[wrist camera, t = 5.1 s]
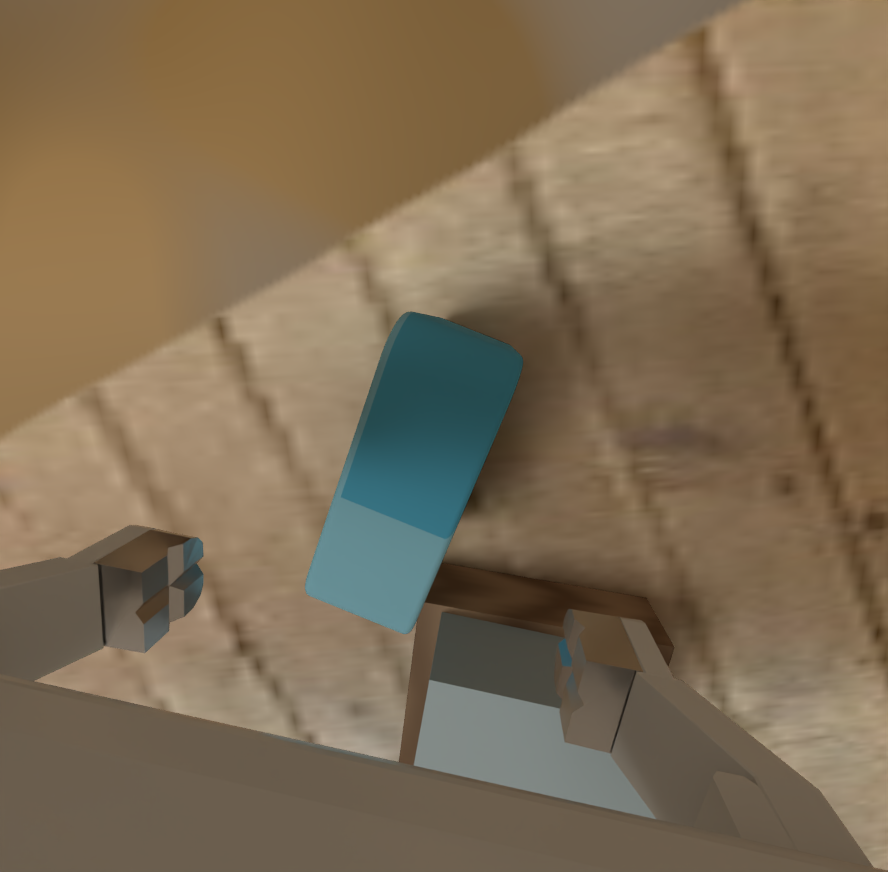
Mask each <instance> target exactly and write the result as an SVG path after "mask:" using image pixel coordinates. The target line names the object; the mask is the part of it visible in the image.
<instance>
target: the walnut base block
mask: <svg viewBox="0 0 888 872" xmlns="http://www.w3.org/2000/svg"><path fill="white" fill-rule="evenodd" d="M568 609H573V610H579V611H585V612H591V613H597V614H603V615H609V616H615V617H623V618H630V619H636V620H642V621H643V622H644V623H645V624H646V625H647V627H648V629H649V631H650V633H651V635H652V637H653V639H654V641H655V643H656V645H657V647H658V649H659V650H660V652H661V654H662V656H663V658H664V660H665V662H666V664H667V666H669V663H670V660H671V656H672V653H673V650H674V646H673V644H672V642H671V641H670V639H669V637H668V635H667V633H666V632H665V630H664V628H663V626H662V625H661V623H660V621H659V619H658V618H657V616H656V614H655V612H654V611H653V609H652V607H651V605H650V604H649V602H648V600H647V598H643V597H637V596H632V595H626V594H620V593H614V592H608V591H602V590H597V589H591V588H585V587H579V586H573V585H568V584H562V583H556V582H550V581H544V580H538V579H533V578H527V577H521V576H515V575H509V574H504V573H498V572H492V571H486V570H480V569H475V568H469V567H463V566H457V565H451V564H445V563H441V565H440V567H439V570H438V572H437V574H436V577H435V579H434V582H433V584H432V586H431V589H430V591H429V593H428V596H427V598H426V600H425V603H424V605H423V607H422V610H421V612H420V614H419V617H418V619H417V625H416V633H415V641H414V649H413V656H412V664H411V672H410V680H409V688H408V695H407V703H406V711H405V719H404V726H403V734H402V742H401V750H400V758H399V762H400V763H405V764H409V765H414V760H415V755H416V750H417V744H418V739H419V733H420V728H421V722H422V717H423V711H424V706H425V701H426V695H427V690H428V684H429V679H430V673H431V668H432V662H433V657H434V652H435V646H436V641H437V635H438V630H439V624H440V619H441V613H442V612H445V613H450V614H455V615H459V616H464V617H469V618H474V619H478V620H483V621H488V622H493V623H497V624H502V625H507V626H512V627H516V628H521V629H526V630H531V631H535V632H540V633H545V634H550V635H554V636H559V637H564V638H565V634H564V630H563V622H564V618H565V615H566V612H567V610H568Z"/></svg>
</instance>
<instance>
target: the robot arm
mask: <svg viewBox="0 0 888 872" xmlns="http://www.w3.org/2000/svg"><path fill="white" fill-rule="evenodd" d="M202 557H203V543H202V541H201V540H200V539H199V538H197V537H193V536H188V535H183V534H179V533H174V532H169V531H164V530H160V529H155V528H150V527H145V526H139V525H129V526H127V527H125V528H123V529H122V530H120V531H118V532H116V533H114V534H112V535H110V536H108V537H107V538H105V539H103V540H101V541H99V542H97V543H95V544H93V545H92V546H90V547H88V548H86V549H84V550H82V551H80V552H78V553H77V554H75V555H73V556H71V557H69V558H61V557H59V558H54V559H50V560H45V561H41V562H36V563H31V564H27V565H22V566H17V567H13V568H8V569H4V570H0V872H888V871H887V870H883V869H878V868H874V867H873V866H872V864H871V863H870V861H869V860H868V859H867V857H866V856H865V854H864V853H863V851H862V850H861V849H860V847H859V846H858V844H857V843H856V841H855V840H854V839H853V837H852V836H851V834H850V833H849V831H848V830H847V829H846V827H845V826H844V824H843V823H842V821H841V820H840V819H839V817H838V816H837V814H836V813H835V811H834V810H833V809H832V807H831V806H830V804H829V803H828V801H827V800H826V799H825V797H824V796H823V794H822V793H821V791H820V790H818V789H817V788H816V787H815V786H813V785H812V784H811V783H810V782H808V781H807V780H806V779H805V778H803V777H802V776H801V775H800V774H798V773H797V772H796V771H795V770H793V769H792V768H791V767H790V766H788V765H787V764H786V763H785V762H783V761H782V760H781V759H780V758H778V757H777V756H776V755H775V754H773V753H772V752H771V751H770V750H768V749H767V748H766V747H765V746H763V745H762V744H761V743H760V742H758V741H757V740H756V739H755V738H754V737H752V736H751V735H750V734H749V733H747V732H746V731H745V730H744V729H742V728H741V727H740V726H739V725H737V724H736V723H735V722H734V721H732V720H731V719H730V718H729V717H727V716H726V715H725V714H724V713H722V712H721V711H720V710H719V709H717V708H716V707H715V706H714V705H712V704H711V703H710V702H709V701H707V700H706V699H705V698H704V697H702V696H701V695H700V694H699V693H697V692H696V691H695V690H694V689H692V688H691V687H690V686H689V685H687V684H686V683H685V682H684V681H682V680H677V679H674V677H673V675H672V674H671V672H670V670H669V668H668V666H667V664H666V662H665V660H664V658H663V656H662V654H661V652H660V650H659V649H658V647H657V645H656V643H655V641H654V639H653V637H652V635H651V633H650V631H649V629H648V627H647V625H646V624H645V623H644V622H643V621H642V620H636V619H630V618H623V617H615V616H609V615H603V614H597V613H591V612H585V611H579V610H573V609H568V610H567V612H566V615H565V618H564V622H563V630H564V634H565V639H563V640H562V641H561V642H560V643H558V647H557V652H556V656H555V666H554V682H555V689H556V693H557V694H558V696H559V697H560V698H561V699H562V703H561V707H560V711H559V713H560V719H561V725H562V730H563V736H564V742H565V743H569V744H573V745H577V746H582V747H586V748H590V749H594V750H598V751H602V752H606V753H610V754H611V757H612V758H613V760H614V761H615V763H616V764H617V765H618V767H619V768H620V769H621V771H622V772H623V774H624V775H625V776H626V778H627V779H628V780H629V782H630V783H631V785H632V786H633V787H634V789H635V790H636V792H637V793H638V794H639V796H640V797H641V798H642V800H643V801H644V803H645V804H646V805H647V807H648V808H649V809H650V811H651V812H652V814H653V815H654V816H655V818H656V819H653V818H649V817H644V816H639V815H635V814H630V813H626V812H621V811H617V810H612V809H608V808H603V807H599V806H594V805H589V804H585V803H580V802H575V801H571V800H566V799H562V798H557V797H553V796H548V795H544V794H539V793H535V792H530V791H526V790H521V789H517V788H512V787H508V786H504V785H499V784H495V783H490V782H486V781H481V780H477V779H472V778H468V777H463V776H459V775H454V774H450V773H445V772H441V771H436V770H432V769H427V768H423V767H418V766H414V765H409V764H405V763H400V762H396V761H391V760H387V759H382V758H378V757H373V756H369V755H364V754H360V753H355V752H351V751H346V750H342V749H337V748H333V747H328V746H324V745H319V744H315V743H310V742H306V741H301V740H296V739H292V738H287V737H283V736H278V735H274V734H269V733H265V732H260V731H255V730H251V729H246V728H242V727H237V726H233V725H228V724H224V723H219V722H215V721H210V720H206V719H201V718H197V717H192V716H188V715H183V714H179V713H174V712H170V711H165V710H161V709H156V708H152V707H147V706H143V705H138V704H134V703H129V702H125V701H120V700H116V699H111V698H107V697H102V696H98V695H93V694H89V693H84V692H80V691H75V690H71V689H66V688H62V687H57V686H53V685H48V684H44V683H39V682H35V680H37V679H39V678H41V677H43V676H45V675H48V674H50V673H52V672H54V671H56V670H58V669H60V668H62V667H64V666H67V665H69V664H71V663H73V662H75V661H77V660H79V659H81V658H83V657H86V656H88V655H90V654H92V653H94V652H96V651H98V650H100V649H103V648H104V646H108V647H113V648H119V649H124V650H130V651H135V652H141V653H145V652H147V651H148V650H149V649H150V648H151V647H152V646H153V645H154V644H155V643H156V642H157V641H158V640H160V639H161V638H162V637H163V636H164V635H165V634H166V633H167V632H168V631H169V624H170V622H172V621H174V620H177V619H179V618H182V617H184V616H185V615H186V614H187V613H188V612H189V611H190V610H191V609H192V608H193V607H194V606H195V604H196V602H197V600H198V598H199V597H200V595H201V591H202V587H203V573H202V571H201V570H200V568H199V566H198V565H197V563H198V562H199V561H200V559H201V558H202Z"/></svg>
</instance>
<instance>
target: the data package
mask: <svg viewBox="0 0 888 872" xmlns="http://www.w3.org/2000/svg"><path fill="white" fill-rule="evenodd" d="M522 367H523V358H522V356H521V355H520V354H519V353H518V352H517V351H516V350H515V349H514V348H513V347H512V346H511V345H509V344H506V343H504V342H501V341H498V340H496V339H493V338H491V337H488V336H486V335H483V334H481V333H478V332H476V331H473V330H471V329H468V328H466V327H463V326H460V325H458V324H455V323H453V322H450V321H448V320H445V319H443V318H439V317H435V316H430V315H425V314H420V313H416V312H406V313H405V314H403V315H402V316H401V317H400V318H399V319H398V321H397V322H396V324H395V326H394V327H393V329H392V331H391V333H390V335H389V337H388V339H387V342H386V344H385V346H384V349H383V352H382V354H381V357H380V360H379V363H378V366H377V369H376V372H375V375H374V378H373V381H372V384H371V387H370V390H369V393H368V396H367V399H366V402H365V405H364V408H363V411H362V414H361V417H360V420H359V423H358V426H357V429H356V432H355V435H354V438H353V441H352V444H351V447H350V450H349V453H348V456H347V459H346V462H345V465H344V468H343V471H342V474H341V476H340V479H339V482H338V485H337V488H336V491H335V494H334V497H333V500H332V503H331V506H330V509H329V512H328V515H327V518H326V521H325V524H324V527H323V530H322V533H321V536H320V539H319V542H318V545H317V548H316V551H315V554H314V557H313V560H312V563H311V566H310V569H309V572H308V575H307V579H306V583H305V590H306V593H307V594H308V595H309V596H311V597H314V598H316V599H319V600H321V601H323V602H326V603H328V604H331V605H333V606H336V607H338V608H341V609H343V610H346V611H348V612H351V613H353V614H355V615H358V616H360V617H363V618H365V619H368V620H370V621H373V622H375V623H378V624H380V625H383V626H385V627H387V628H390V629H392V630H395V631H397V632H400V633H402V634H407V633H409V632H410V631H411V630H412V629H413V627H414V625H415V623H416V621H417V619H418V617H419V614H420V612H421V610H422V607H423V605H424V603H425V600H426V598H427V596H428V593H429V591H430V589H431V586H432V584H433V582H434V579H435V577H436V574H437V572H438V570H439V567H440V565H441V563H442V560H443V558H444V556H445V553H446V551H447V549H448V546H449V544H450V542H451V539H452V537H453V535H454V532H455V530H456V528H457V525H458V523H459V521H460V518H461V516H462V514H463V511H464V509H465V507H466V504H467V502H468V500H469V497H470V495H471V493H472V490H473V488H474V486H475V483H476V481H477V479H478V476H479V474H480V472H481V469H482V467H483V465H484V462H485V460H486V458H487V455H488V453H489V451H490V448H491V446H492V444H493V441H494V439H495V437H496V434H497V432H498V430H499V427H500V425H501V423H502V420H503V418H504V416H505V413H506V411H507V409H508V406H509V404H510V401H511V399H512V396H513V394H514V391H515V389H516V386H517V383H518V380H519V377H520V374H521V371H522Z"/></svg>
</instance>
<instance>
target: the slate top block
mask: <svg viewBox="0 0 888 872" xmlns="http://www.w3.org/2000/svg"><path fill="white" fill-rule="evenodd" d="M563 639H565V638H564V637H559V636H554V635H550V634H545V633H540V632H535V631H531V630H526V629H521V628H516V627H512V626H507V625H502V624H497V623H493V622H488V621H483V620H478V619H474V618H469V617H464V616H459V615H455V614H450V613H445V612H442V613H441V619H440V624H439V630H438V635H437V641H436V646H435V652H434V657H433V662H432V668H431V673H430V679H429V684H428V690H427V695H426V701H425V706H424V711H423V717H422V722H421V728H420V733H419V739H418V744H417V750H416V755H415V760H414V766H418V767H423V768H427V769H432V770H436V771H441V772H445V773H450V774H454V775H459V776H463V777H468V778H472V779H477V780H481V781H486V782H490V783H495V784H499V785H504V786H508V787H512V788H517V789H521V790H526V791H530V792H535V793H539V794H544V795H548V796H553V797H557V798H562V799H566V800H571V801H575V802H580V803H585V804H589V805H594V806H599V807H603V808H608V809H612V810H617V811H621V812H626V813H630V814H635V815H639V816H644V817H649V818H653V819H656V818H655V816H654V815H653V814H652V812H651V811H650V809H649V808H648V807H647V805H646V804H645V803H644V801H643V800H642V798H641V797H640V796H639V794H638V793H637V792H636V790H635V789H634V787H633V786H632V785H631V783H630V782H629V780H628V779H627V778H626V776H625V775H624V774H623V772H622V771H621V769H620V768H619V767H618V765H617V764H616V763H615V761H614V760H613V758H612V757H611V754H610V753H606V752H602V751H598V750H594V749H590V748H586V747H582V746H577V745H573V744H569V743H565V742H564V736H563V730H562V725H561V719H560V713H559V711H560V707H561V703H562V699H561V698H560V697H559V696H558V694H557V693H556V689H555V682H554V666H555V656H556V652H557V647H558V643H560V642H561V641H562V640H563Z"/></svg>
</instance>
